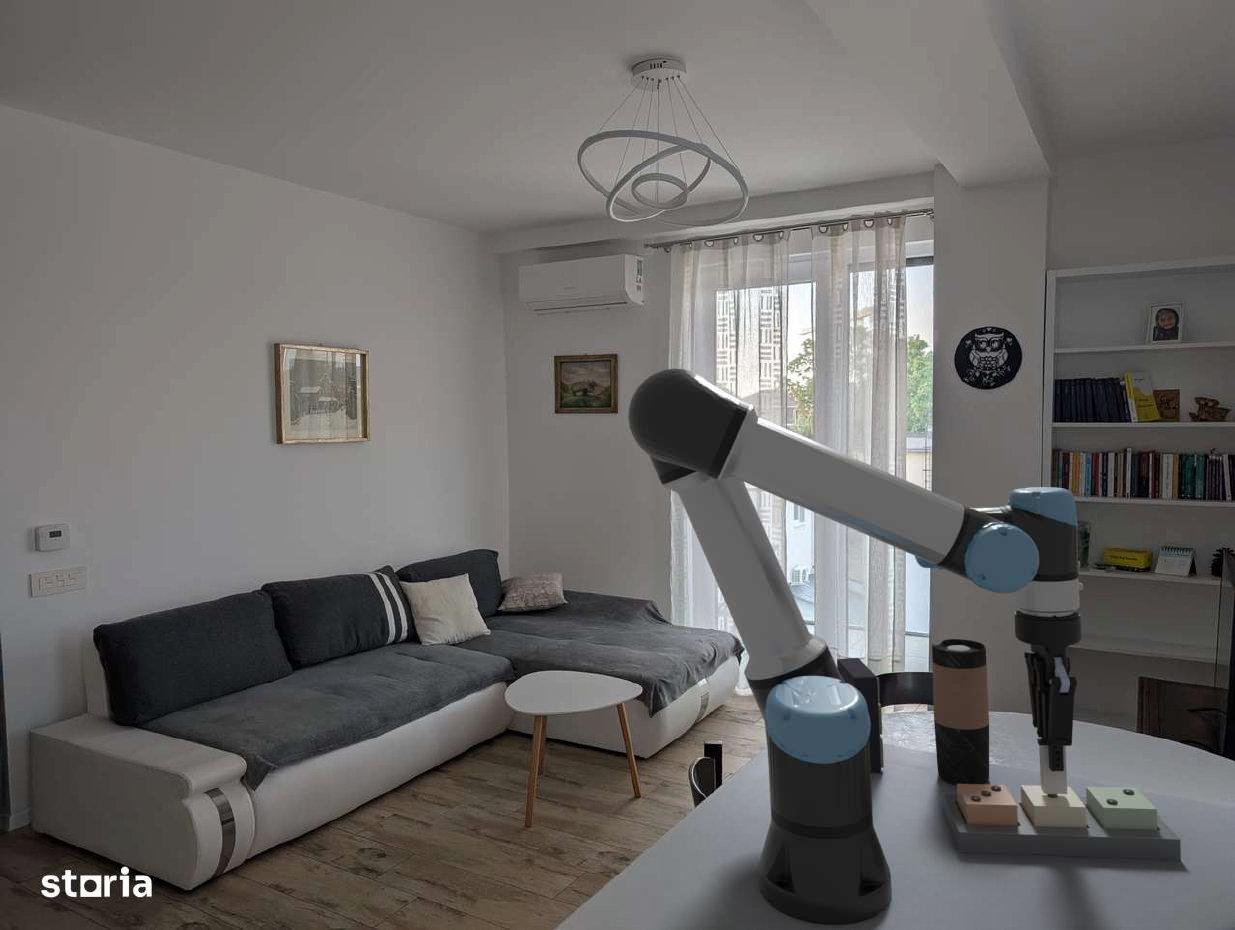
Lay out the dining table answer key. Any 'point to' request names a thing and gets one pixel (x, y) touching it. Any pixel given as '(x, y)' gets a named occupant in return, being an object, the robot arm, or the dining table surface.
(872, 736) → the calculator
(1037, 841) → the keypad board
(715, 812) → the dining table surface
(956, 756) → the travel mug
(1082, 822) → the button one
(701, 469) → the robot arm
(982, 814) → the button three
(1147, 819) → the button two
